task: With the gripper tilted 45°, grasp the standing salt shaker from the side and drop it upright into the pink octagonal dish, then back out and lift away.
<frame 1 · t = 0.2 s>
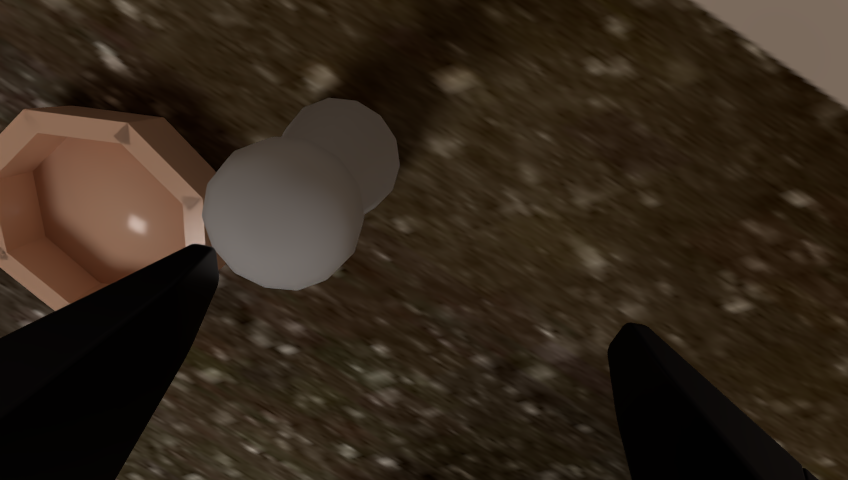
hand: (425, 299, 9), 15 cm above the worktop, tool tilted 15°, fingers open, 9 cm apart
pink octagonal dish: (130, 211, 24), on the worktop
salt shaker: (348, 151, 23), on the worktop
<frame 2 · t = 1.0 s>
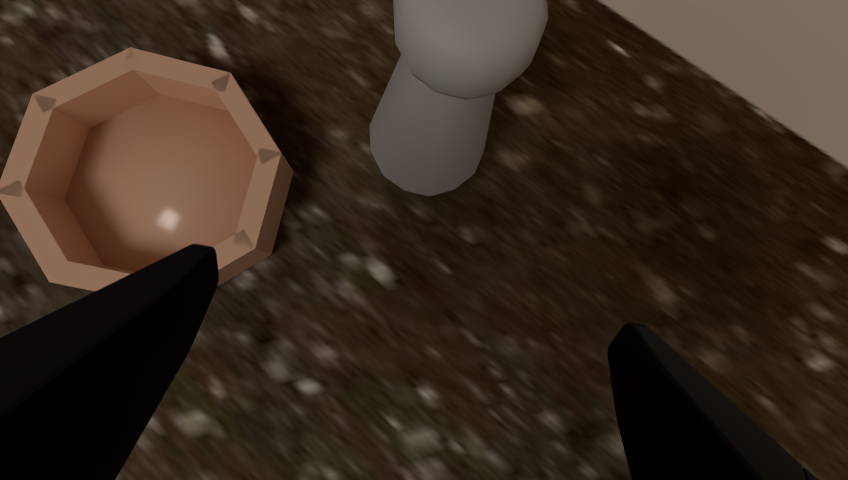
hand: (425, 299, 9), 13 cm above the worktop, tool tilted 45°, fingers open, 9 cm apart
pink octagonal dish: (176, 188, 22), on the worktop
salt shaker: (421, 155, 24), on the worktop
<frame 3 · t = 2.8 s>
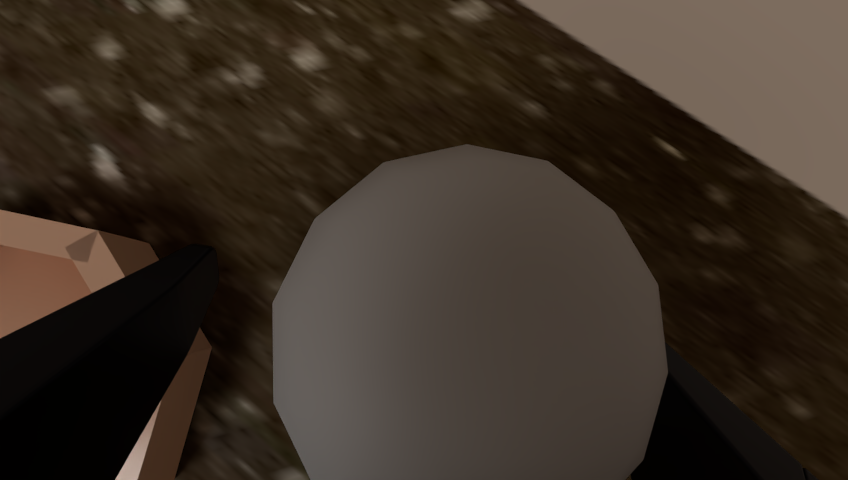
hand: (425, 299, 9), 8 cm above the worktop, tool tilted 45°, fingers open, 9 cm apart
pink octagonal dish: (32, 382, 15), on the worktop
salt shaker: (400, 311, 17), on the worktop
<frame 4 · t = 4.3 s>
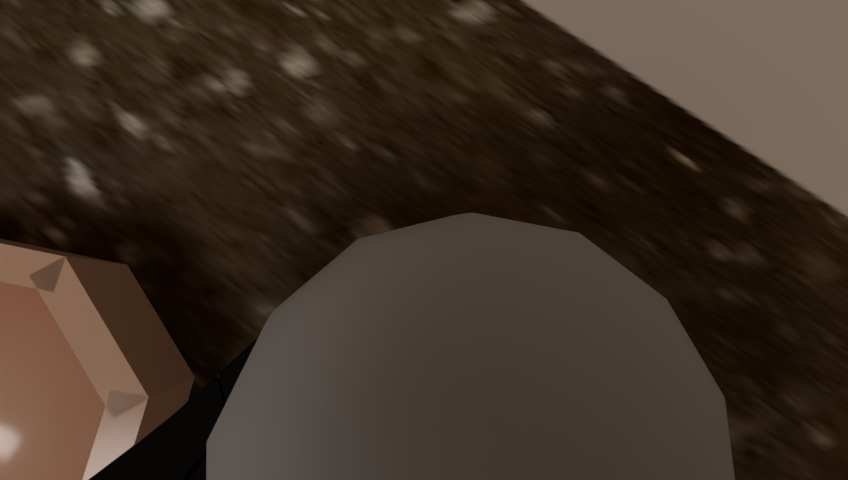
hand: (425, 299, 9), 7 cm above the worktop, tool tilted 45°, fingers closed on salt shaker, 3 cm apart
pink octagonal dish: (0, 415, 14), on the worktop
salt shaker: (397, 336, 16), on the worktop, touching gripper
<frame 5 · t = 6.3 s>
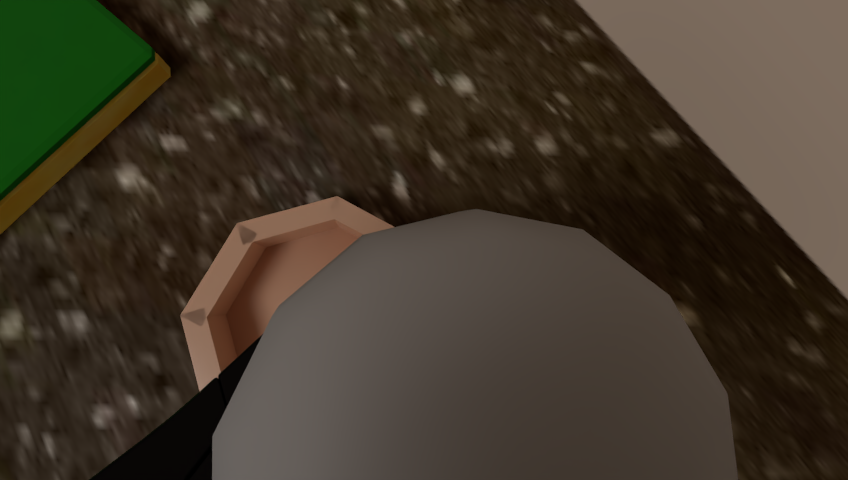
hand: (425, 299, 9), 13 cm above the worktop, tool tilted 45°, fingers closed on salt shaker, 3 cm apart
pink octagonal dish: (328, 322, 22), on the worktop
dish sponge: (28, 124, 22), on the worktop
salt shaker: (398, 334, 16), point 6 cm above the worktop, touching gripper
when the fingers open (8 cm above the worktop, at t = 8.4 s): salt shaker drops 1 cm, resting on pink octagonal dish.
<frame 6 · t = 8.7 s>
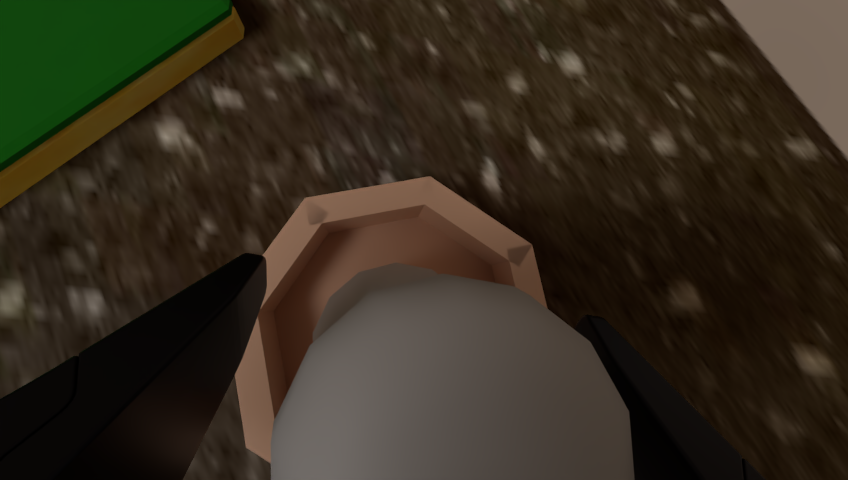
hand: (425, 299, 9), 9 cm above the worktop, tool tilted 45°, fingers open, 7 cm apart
pink octagonal dish: (395, 331, 18), on the worktop
dish sponge: (69, 73, 18), on the worktop
salt shaker: (394, 338, 17), resting on pink octagonal dish
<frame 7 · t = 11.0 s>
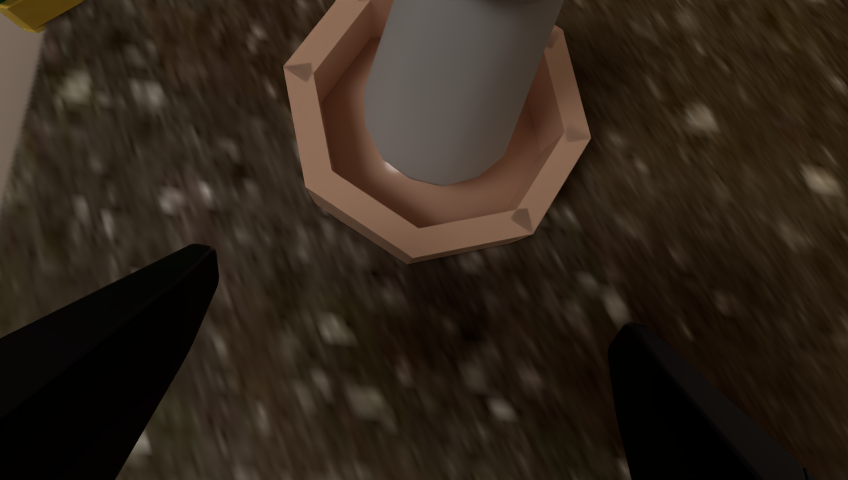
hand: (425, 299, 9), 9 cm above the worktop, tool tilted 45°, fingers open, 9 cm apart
pink octagonal dish: (431, 133, 19), on the worktop
salt shaker: (431, 135, 18), resting on pink octagonal dish
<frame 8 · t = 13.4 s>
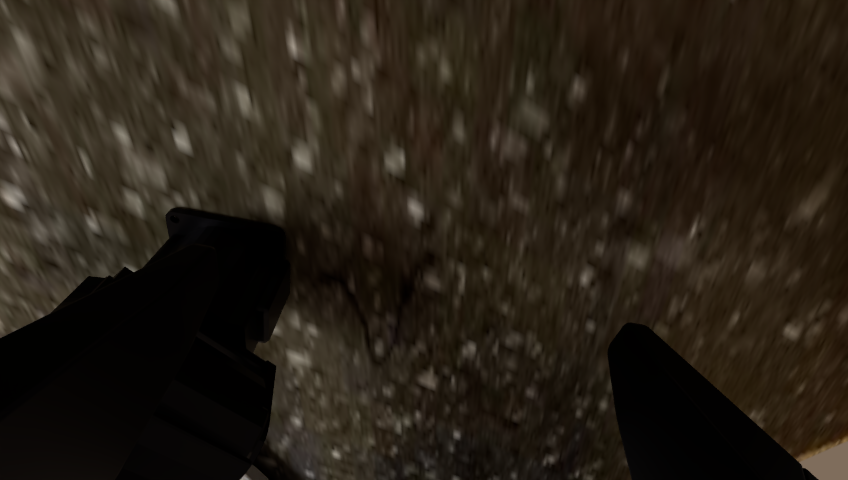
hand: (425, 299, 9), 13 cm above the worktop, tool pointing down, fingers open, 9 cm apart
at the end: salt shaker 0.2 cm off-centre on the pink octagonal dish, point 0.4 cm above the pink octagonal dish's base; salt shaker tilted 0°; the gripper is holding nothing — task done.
